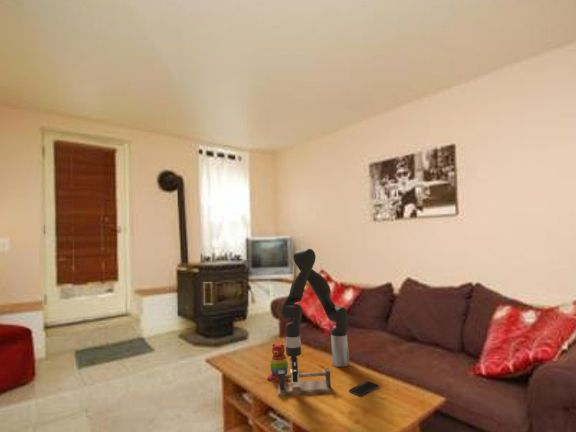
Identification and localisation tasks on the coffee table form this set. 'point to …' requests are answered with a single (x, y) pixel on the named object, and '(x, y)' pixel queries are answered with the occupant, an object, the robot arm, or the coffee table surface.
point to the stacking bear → (278, 362)
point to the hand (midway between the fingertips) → (294, 378)
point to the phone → (364, 388)
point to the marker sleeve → (292, 376)
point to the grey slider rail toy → (304, 385)
